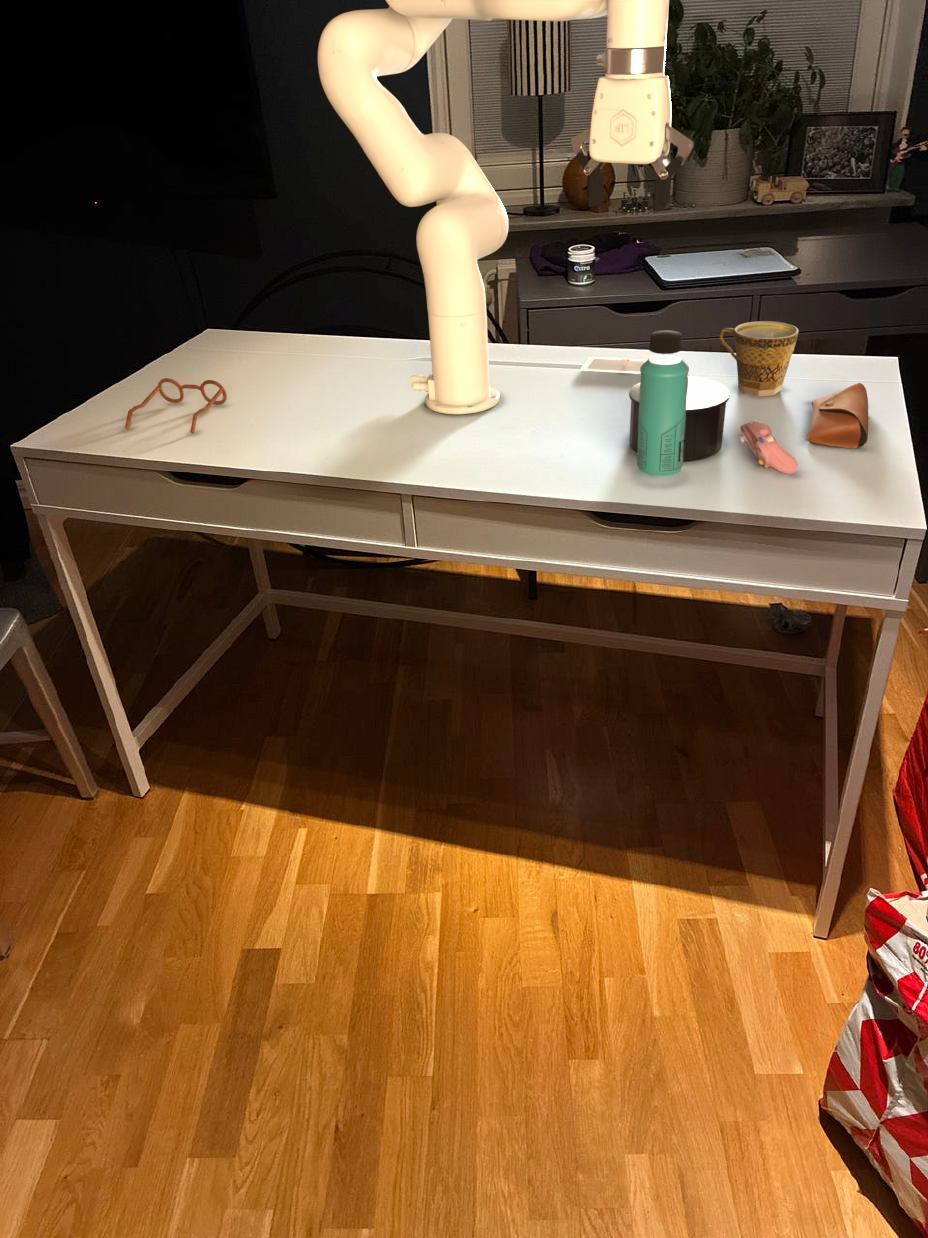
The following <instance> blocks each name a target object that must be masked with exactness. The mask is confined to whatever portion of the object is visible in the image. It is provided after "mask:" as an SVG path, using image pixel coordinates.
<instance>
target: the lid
mask: <svg viewBox="0 0 928 1238" xmlns="http://www.w3.org/2000/svg"><path fill="white" fill-rule="evenodd" d="M730 395H731V394H730V389H728V387H726V385H724V384H722V383H719V382H717V381H714V380H712V379H708V378H703V377H697V376H690V375H689V374H688V382H687V399H688V400H687V404H686V411H687V412H686V413H695V412H702V411H707V410H712V409H715V408H718V407H720V406H722V405H724V404H725V403H726V404H727V403H728V401H729V400H730ZM628 396H629V399H630V402H631V401H632V402H634V403H635V404H637V405H638V406H639V401H640V382H638V383H636V384H634V385H633V386H631V387H630V389H629V391H628Z"/></svg>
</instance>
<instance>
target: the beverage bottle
mask: <svg viewBox="0 0 928 1238" xmlns="http://www.w3.org/2000/svg"><path fill="white" fill-rule="evenodd" d="M682 347H683V344H682V334H681V332H679V331H677V330H668V329H665V330H663V329H661V330H657V331H654V332H652V333H651V335H650V340H649V344H648V351H650V352H651V353H654V354H658V355H653V356H651V357H649V358H648V359H646V360H647V361H646V362H645V363H644V364H643V365H642V366H641V368H640V372H641V374H640V379H639V381H640V401H639V407H638V408H639V415H638V414H637V415H638V416H639V418H638V427H637V428H638V450H637V444H636V452H635V454H636V455H635V457H636V458H635V461H636V466H637V468H638V470H639V472H642V473H644V474H646V475H649V476H655V477H657V476H658V477H664V476H671V475H675V474H677V473H678V472H681V470H682V468H683V466H684V463H685V462H684V460H683V458H684V457H683V451H684V452H685V445H684V435H686V434H685V433H686V432H685V429H686V428H685V420H686V418H687V417H686V412H687V411H686V404H687V400H688V399H687V382H688V375H689V371H690V367H689V365H688V364H687V363H686V361H685V360H684V359H683V358H681V357H680V356H677V355H673V354H677V353H679V352H681V351H682ZM686 421H687V420H686ZM685 438H686V437H685Z"/></svg>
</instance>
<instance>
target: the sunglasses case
mask: <svg viewBox="0 0 928 1238" xmlns="http://www.w3.org/2000/svg"><path fill="white" fill-rule="evenodd" d="M811 407H812V414H811V415H812V416H811V420H810V426H809V430H808V432H807V435H806V442H807V441H808V442H809V443H812V444H817V445H820V446H825V447H830V448H840V449H851V450H857V449H861V448H862V447H864V446H865V445H866V444H867V442H868V439H869V398H868V393H867V388H866V386H865V385H864V383H862V382H858V383H853V384H852V385H849V386H848V387H846V388H844V389H843V390H841V391H838V392H835V393H831V394H828V395H824V396H821V397H819V398H816V399H813V400H811Z"/></svg>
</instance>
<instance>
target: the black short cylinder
mask: <svg viewBox="0 0 928 1238" xmlns="http://www.w3.org/2000/svg"><path fill="white" fill-rule="evenodd" d="M638 407H639V406H638V405H637V404H635V403H634V402H632V401H631V400H630V418H629V419H630V420H629V447H630V448H631V450H632V451H633V452H634V453H636V444H637V450H638V428H637V427H638V418H639V416H638V415H639V408H638ZM726 407H727V402H726V403H725V404H724V405H722V406H720V407H718V408H715V409H712V410H707V411H702V412H695V413H686V417H687V418H686V420H687V421H686V420H685V428H686V429H685V432H686V433H685V434H686V435H684V445H685V452H684V451H683V457H684V458H683V460H684V462H683V463H690V462H696V461H697V462H698V461H701V460H705V459H709V458H712V457H713V456H715V455H716V454H718V453H719V452H720V451H721V449H722V445H723V438H724V430H725V429H724V427H725V420H726V419H725V417H726ZM637 414H638V415H637ZM685 437H686V438H685Z"/></svg>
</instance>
